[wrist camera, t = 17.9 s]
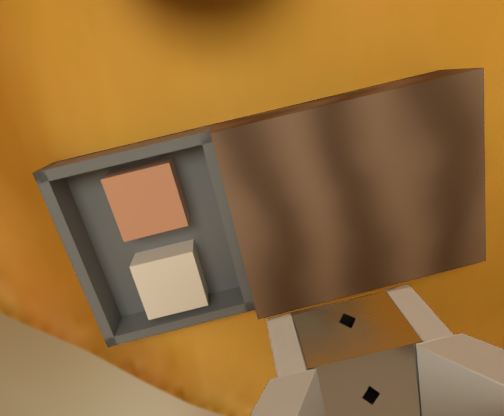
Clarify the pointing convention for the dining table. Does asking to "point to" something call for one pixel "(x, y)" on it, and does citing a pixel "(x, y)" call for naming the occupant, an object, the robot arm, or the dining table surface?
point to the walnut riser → (357, 188)
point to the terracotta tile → (146, 199)
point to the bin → (121, 253)
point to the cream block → (170, 279)
